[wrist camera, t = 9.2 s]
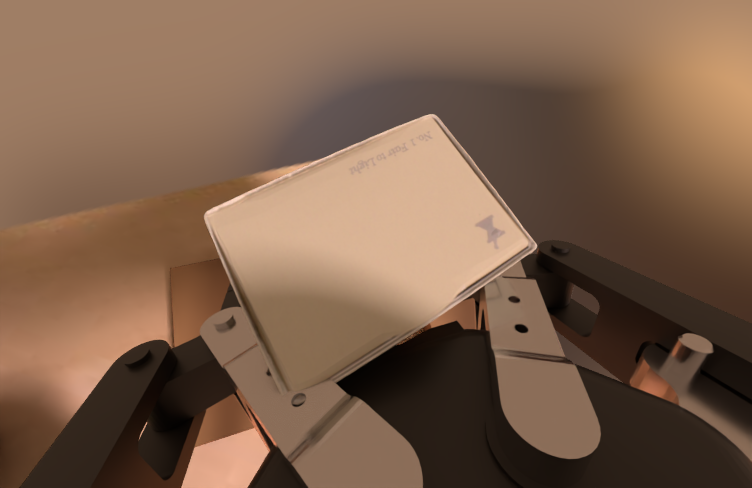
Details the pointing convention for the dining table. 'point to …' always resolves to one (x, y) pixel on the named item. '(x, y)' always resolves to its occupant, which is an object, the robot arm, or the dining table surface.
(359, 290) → the skincare box
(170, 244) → the dining table surface
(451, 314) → the wooden frame
